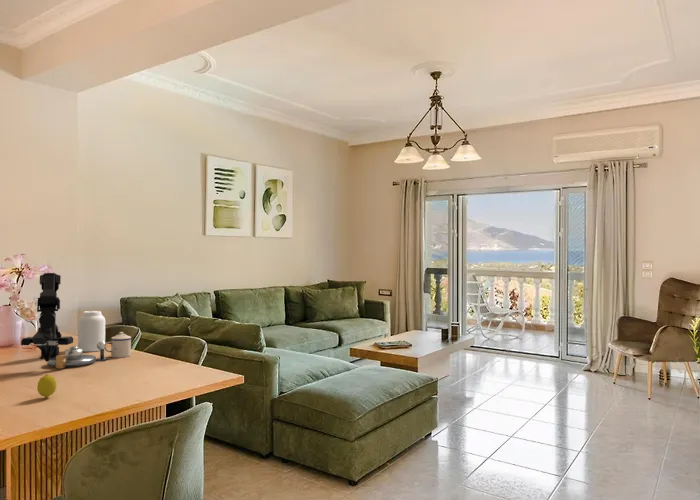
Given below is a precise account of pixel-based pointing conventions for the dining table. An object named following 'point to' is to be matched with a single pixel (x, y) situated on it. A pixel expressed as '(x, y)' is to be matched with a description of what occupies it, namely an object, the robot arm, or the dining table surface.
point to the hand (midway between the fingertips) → (47, 361)
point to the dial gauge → (101, 351)
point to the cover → (74, 353)
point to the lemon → (46, 386)
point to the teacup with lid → (120, 346)
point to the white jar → (91, 330)
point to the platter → (70, 361)
